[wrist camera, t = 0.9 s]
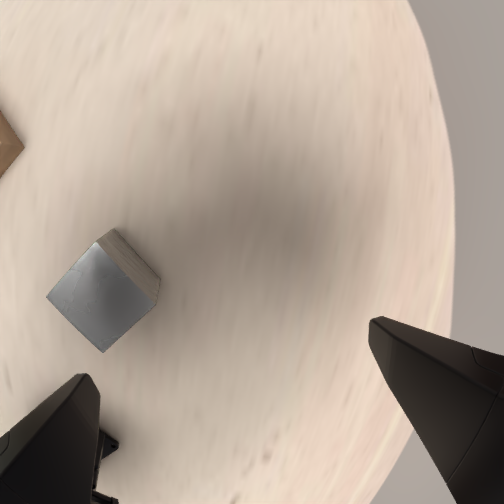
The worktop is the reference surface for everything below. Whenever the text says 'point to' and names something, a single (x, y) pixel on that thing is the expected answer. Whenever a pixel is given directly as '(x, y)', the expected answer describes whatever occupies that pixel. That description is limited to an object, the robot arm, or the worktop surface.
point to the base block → (8, 145)
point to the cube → (106, 291)
